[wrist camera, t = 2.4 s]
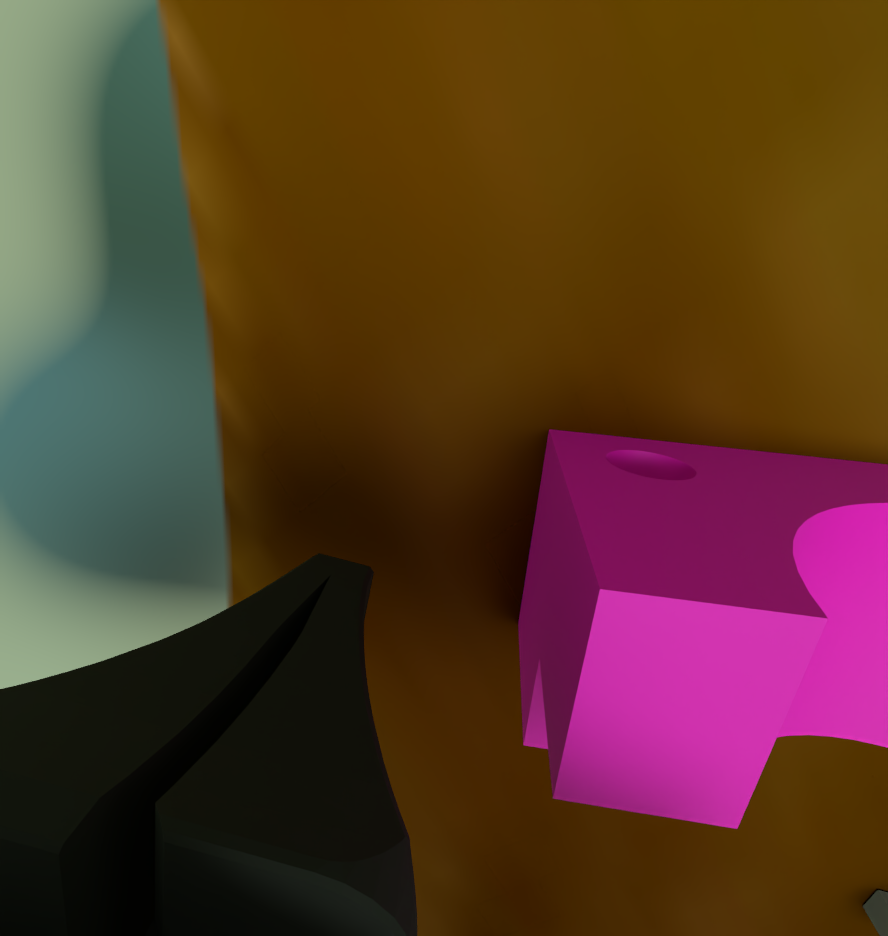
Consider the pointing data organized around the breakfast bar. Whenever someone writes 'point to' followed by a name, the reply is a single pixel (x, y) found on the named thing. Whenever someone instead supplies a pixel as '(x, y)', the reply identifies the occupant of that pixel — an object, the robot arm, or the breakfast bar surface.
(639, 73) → the breakfast bar surface
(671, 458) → the toy block
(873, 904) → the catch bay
